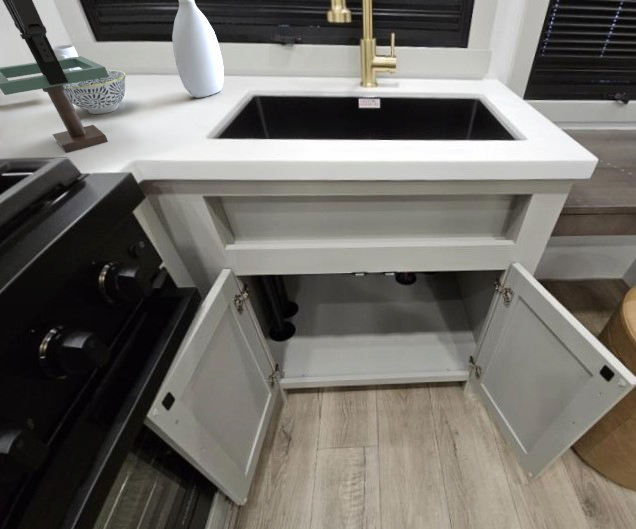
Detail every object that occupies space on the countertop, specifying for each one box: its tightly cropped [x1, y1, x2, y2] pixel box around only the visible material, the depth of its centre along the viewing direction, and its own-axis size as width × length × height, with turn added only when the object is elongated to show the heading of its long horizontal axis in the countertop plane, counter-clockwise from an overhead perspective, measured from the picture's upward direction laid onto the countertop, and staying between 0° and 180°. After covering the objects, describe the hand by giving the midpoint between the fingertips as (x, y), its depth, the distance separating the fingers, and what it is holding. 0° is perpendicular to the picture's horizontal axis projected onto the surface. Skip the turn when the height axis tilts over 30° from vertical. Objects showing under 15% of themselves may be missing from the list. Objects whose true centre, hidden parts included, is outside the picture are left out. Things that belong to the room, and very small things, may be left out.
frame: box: [0, 55, 109, 96], centre depth 60 cm, size 16×16×2 cm
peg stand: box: [41, 85, 109, 153], centre depth 65 cm, size 8×8×11 cm
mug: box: [51, 44, 81, 72], centre depth 87 cm, size 10×7×12 cm, turn 33°
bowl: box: [65, 69, 126, 115], centre depth 81 cm, size 16×16×8 cm
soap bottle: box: [171, 0, 225, 99], centre depth 84 cm, size 14×8×27 cm, turn 145°
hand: (57, 81), depth 56 cm, fingers closed on frame, 2 cm apart
